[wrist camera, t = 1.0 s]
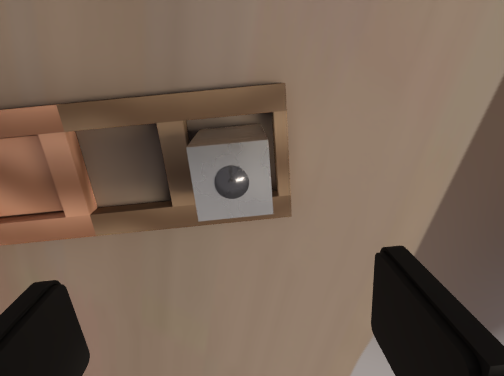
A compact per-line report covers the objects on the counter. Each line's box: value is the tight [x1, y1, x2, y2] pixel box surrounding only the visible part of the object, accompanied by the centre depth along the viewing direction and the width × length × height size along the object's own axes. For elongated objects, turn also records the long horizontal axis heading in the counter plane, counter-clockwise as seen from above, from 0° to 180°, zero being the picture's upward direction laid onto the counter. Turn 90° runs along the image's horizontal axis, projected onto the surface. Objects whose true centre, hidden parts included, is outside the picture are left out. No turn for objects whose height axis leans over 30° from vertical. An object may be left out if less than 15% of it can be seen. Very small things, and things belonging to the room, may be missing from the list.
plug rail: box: [0, 83, 291, 245], centre depth 25 cm, size 11×27×2 cm, turn 95°
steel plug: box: [186, 124, 273, 221], centre depth 22 cm, size 5×5×7 cm
